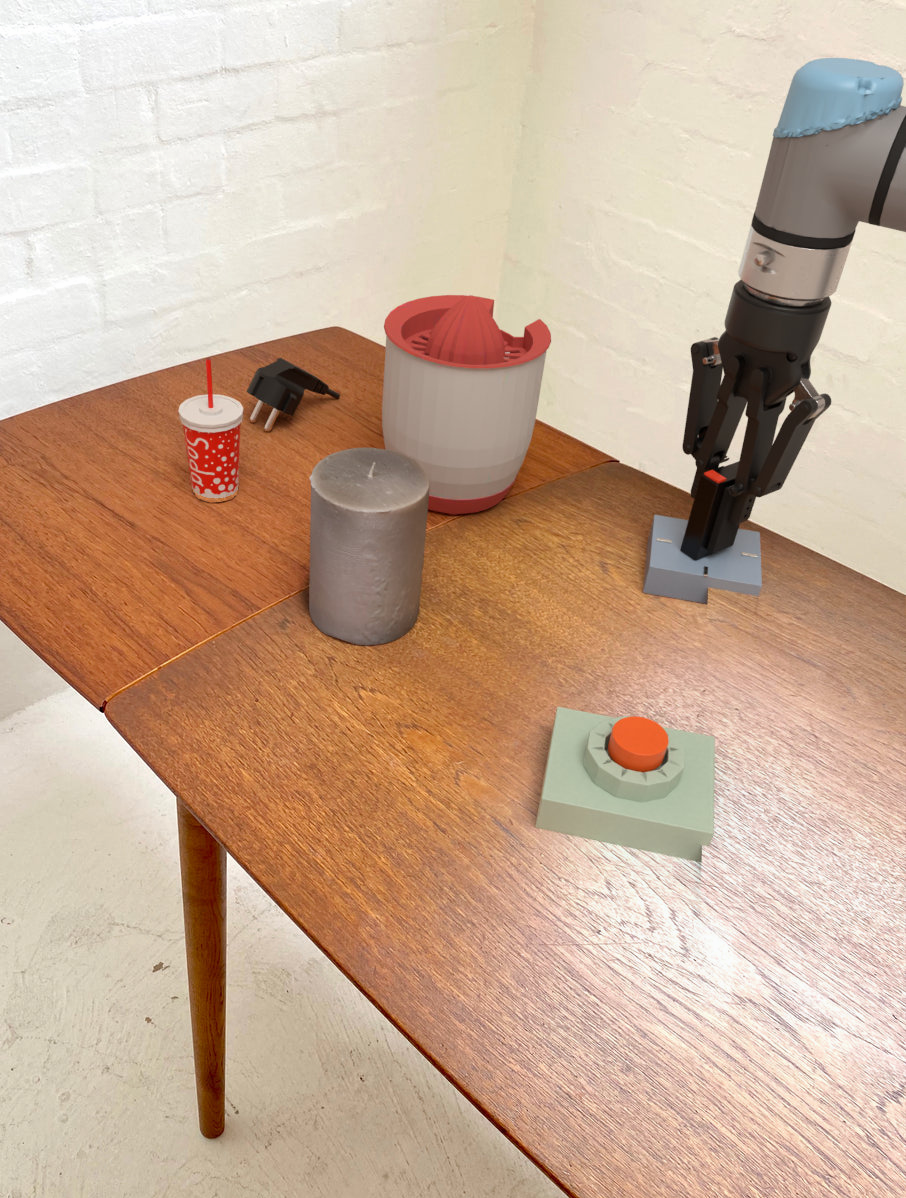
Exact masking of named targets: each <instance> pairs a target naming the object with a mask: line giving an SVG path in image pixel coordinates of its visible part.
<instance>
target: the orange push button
mask: <svg viewBox="0 0 906 1198" xmlns="http://www.w3.org/2000/svg"><path fill="white" fill-rule="evenodd" d="M631 716H632V715H631ZM660 725H661V724H659V723H658V722H656V721H654V720H652V719H650V718H647V717H643V716H636V715H635V716H634V715H633V716H632V717H626V718H623V719H620V720H619V721H617V722H616V723H615V725H614V726H613V729H612V732H611V736H610V740H609V744H608V752H609V755H610V757H611V758H612V760H613V761H614V762H615V763H617V764H618V765H620V766H621V767H623V768H625V769H628V770H633V771H638V772H649V771H652V770H655V769H656V768H658V767H659V766H660V765H661V764H662V762H663V759H664V756H665V753H666V749H667V746H668V742H669V739H668V735H667V733H666V731H665V730H664V729H663V728H662V727H661V726H662V725H661V726H660Z"/></svg>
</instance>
